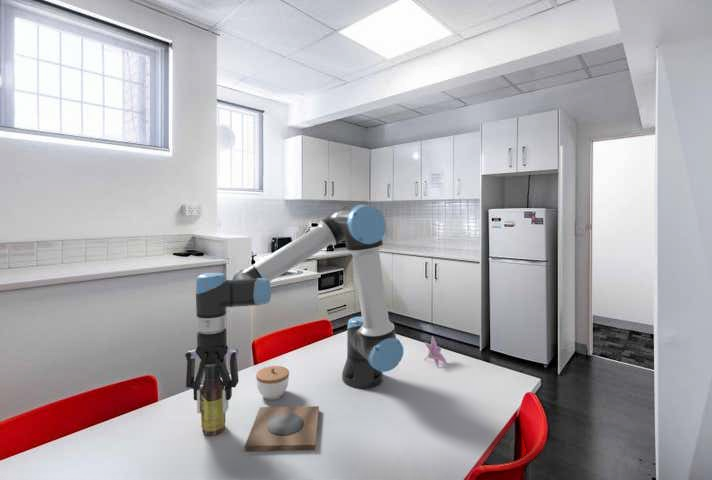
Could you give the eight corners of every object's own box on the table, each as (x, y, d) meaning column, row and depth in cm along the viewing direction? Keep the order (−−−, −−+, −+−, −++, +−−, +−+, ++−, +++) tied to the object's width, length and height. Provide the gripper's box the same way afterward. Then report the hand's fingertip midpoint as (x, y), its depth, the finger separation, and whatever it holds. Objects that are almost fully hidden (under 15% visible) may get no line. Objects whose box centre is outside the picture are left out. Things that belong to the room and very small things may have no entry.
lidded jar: (281, 405, 112) (281, 377, 111) (250, 401, 114) (250, 373, 114) (293, 388, 123) (293, 362, 122) (265, 385, 125) (265, 359, 124)
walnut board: (318, 410, 109) (319, 405, 109) (315, 450, 91) (315, 443, 91) (260, 411, 108) (260, 406, 108) (244, 451, 90) (244, 444, 90)
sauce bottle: (206, 423, 102) (204, 357, 100) (228, 423, 102) (227, 356, 101) (197, 438, 95) (196, 367, 94) (221, 437, 96) (220, 366, 94)
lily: (422, 372, 139) (435, 354, 137) (409, 350, 149) (421, 333, 146) (444, 375, 145) (457, 358, 142) (430, 354, 155) (442, 337, 152)
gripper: (169, 334, 92) (171, 418, 94) (243, 334, 93) (244, 417, 95) (182, 325, 100) (183, 403, 102) (250, 325, 101) (251, 402, 103)
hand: (213, 410), depth 98 cm, fingers closed on sauce bottle, 6 cm apart
